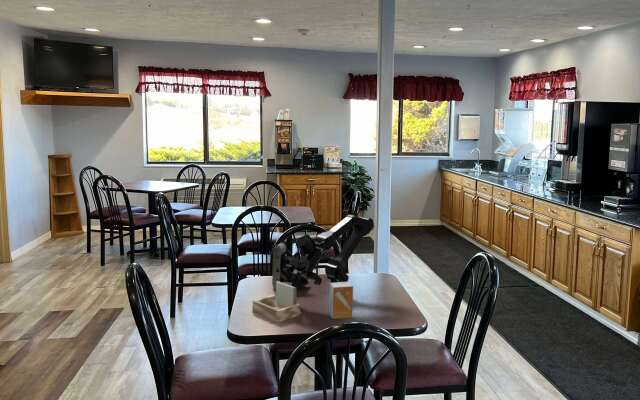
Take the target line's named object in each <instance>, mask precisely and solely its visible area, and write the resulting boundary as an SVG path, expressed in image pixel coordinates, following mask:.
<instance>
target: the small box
mask: <svg viewBox="0 0 640 400" xmlns="http://www.w3.org/2000/svg"><path fill="white" fill-rule="evenodd" d="M329 283H330V282H329ZM328 294H329V296H328V297H329V298H328V301H329V302H328V304H329V305H328V307H329V309H328V313H329V314H328V315H329V316H330V317H331V319H333V320H337V319H353V311H354V310H353V307H354V306H353V305H354V304H353V303H354V302H353V300H354V285H352V284H351V282H350V281H347V282H336V283H330V288H329V287H328Z"/></svg>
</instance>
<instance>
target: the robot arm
mask: <svg viewBox="0 0 640 400" xmlns="http://www.w3.org/2000/svg"><path fill="white" fill-rule="evenodd" d="M351 228H352V229H353V231H352V233H351V235H350V236H349V238H348V239H347V240H346V242H345V244H344V246H343V247H342V248H341V250H340V252H339V253H338V254H337V256H336V257H335V258H333V257H330V258H329V260H328V262H327V263H326V264H325V268H324V273H325V275H326V278H327V280H329V281H330V282H329V283H328V289H329V288H330V283H336V282H349V278H350V276H349V275H348V274H347V273H346V271H347V263H348V262H349V259H350V258H351V256H352V255H353V253H354V251H355V250H356V249H357V247H358V245H359V244H360V242H361V241H362V239H363V238H364V237H366V236H367V235H369V234H370V232H371V231H372V230H373V229H374V228H375V221H374V219H373V218H371V217H370V218H369V217H365V216H361V215H360V216H357V215H354V214H347V215H346V216H345V218H343V219H342V220H341V221H339V222H338V223H337V224H336V225H334V226H333V227H332V228H331V229H329V230H328V231H324V232H320V234H318V235H317V236H315V237H313V238H312V236H310V235H309V234H307V233H305V234H304V235H302V236H300V237H298V238H297V239H296V241H295V246H296V247H297V249H299V250H300V252H301V253H303V254H304V255H306V256H304V258H302V259H301V260H300V258H296V257H293V256H291V257H292V258H291V261H290V265H285V266H284V268H283V270H284V271H285V272H286V273H287V274H288V275H289V276H291V277H293V281H292V283H291V285H290V286H293V287H296V291H298V290H300V289H301V288H303V287H304V286H305V287H306V285H309V284H310V281H313V283H314V285H316V286H321V284H322V282H323V281H322V280H323V279H322V277H321V276H319V274H318V273H317V272H315V271H314V270H317V269H318V266H317V265H318V263H319V262H320V260H321V259H326V257H327V256H326V252H325V251H329V250H331V249H332V247H334V246H335V244H336V243H337V240H338V239H339V238H340V237H341V236H342V235H344V234H345V233H346V232H347V231H349V230H350V229H351ZM322 250H324V251H322ZM291 265H294V266H295V268H296V269H298V270H296V269H295V268H294V267H293V266H291Z"/></svg>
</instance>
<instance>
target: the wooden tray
mask: <svg viewBox="0 0 640 400" xmlns="http://www.w3.org/2000/svg"><path fill="white" fill-rule="evenodd" d="M251 302H252V312H253V313H255V314H257V315H259V316H262V317H264V318H267V319H269V320H270V321H274V322H276V323H281V322H283V321H284V322H285V321H287V320H290V319H293V318H296V317H298V316H299V317H300V316H301V315H302V311H300V310H301V309H300V307H301V304H300V303H296V304H295V305H292V306H289V307H282V306H280V305H277V304H276V294H272V295H269V296H268V295H267V296H264V297H261V298H258V299H254V300H252V301H251Z"/></svg>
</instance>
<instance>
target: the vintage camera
mask: <svg viewBox="0 0 640 400" xmlns="http://www.w3.org/2000/svg"><path fill="white" fill-rule="evenodd" d="M272 250H273V251H272V273H271V274H272V275H271V276H272V277H271V279H272V280H271V281H272V282H271V284H272V288H274V289H276V282H277V281H278V282H281V283H288V284H292V281H293V277H291V276H289V275H288V274H287V273H286V272H285V271H284V270H283V268H284V266H285V265H290V261H291V258H292V257H293V256H290V255H287V245H286V243H285V242H283V241H281V242H280V243H279V244H277V245H275V247H274V248H273V249H272ZM302 258H305V256H303V255H300V257H299V259H300V260H301V259H302ZM291 266H293V267H294V268H295V266H294V265H291ZM295 269H296V268H295ZM296 270H298V269H296ZM303 287H306V285H305V286H303Z"/></svg>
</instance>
